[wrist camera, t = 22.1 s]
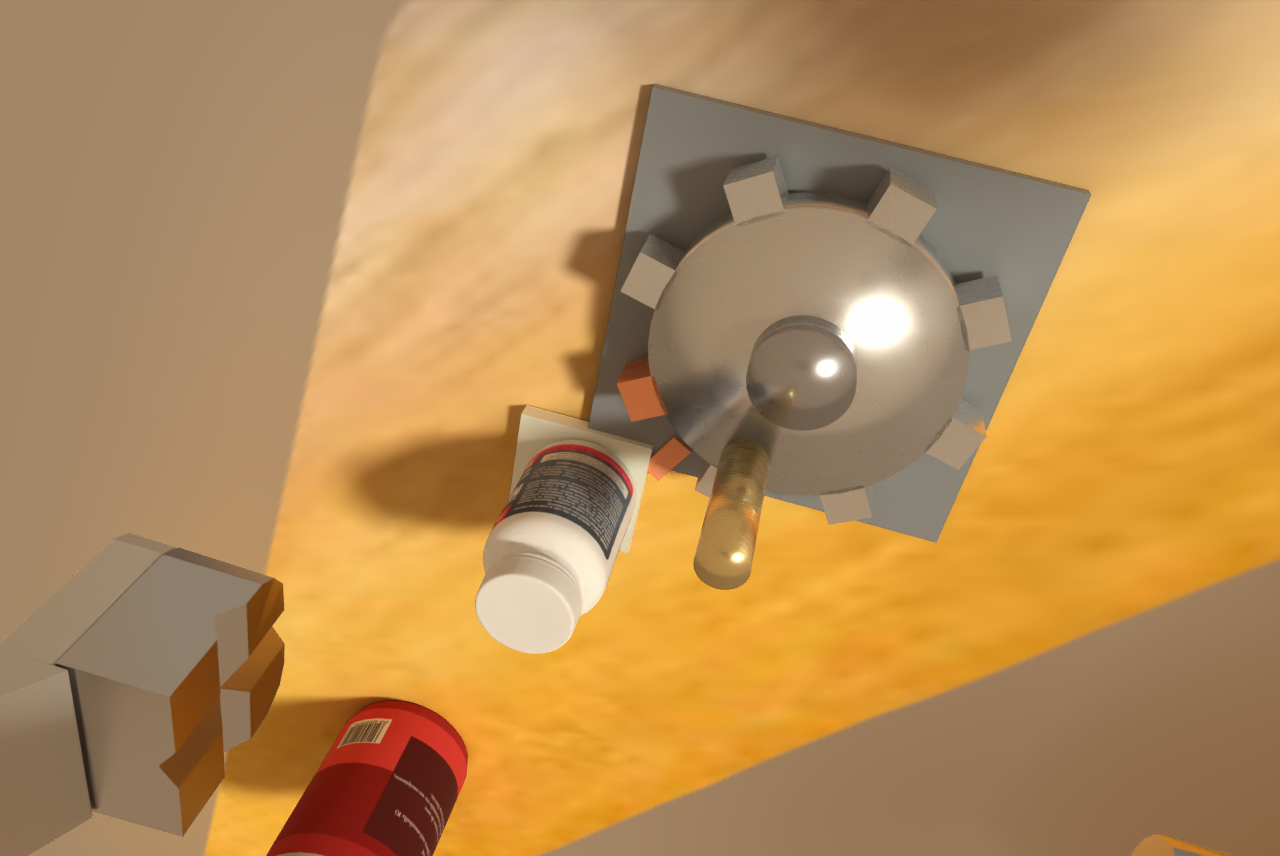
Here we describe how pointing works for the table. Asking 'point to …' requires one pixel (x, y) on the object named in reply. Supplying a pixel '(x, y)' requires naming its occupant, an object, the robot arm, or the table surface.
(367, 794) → the canned food
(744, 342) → the sprocket
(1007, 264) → the gray square plate
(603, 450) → the pill bottle
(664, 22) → the table surface
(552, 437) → the pad
